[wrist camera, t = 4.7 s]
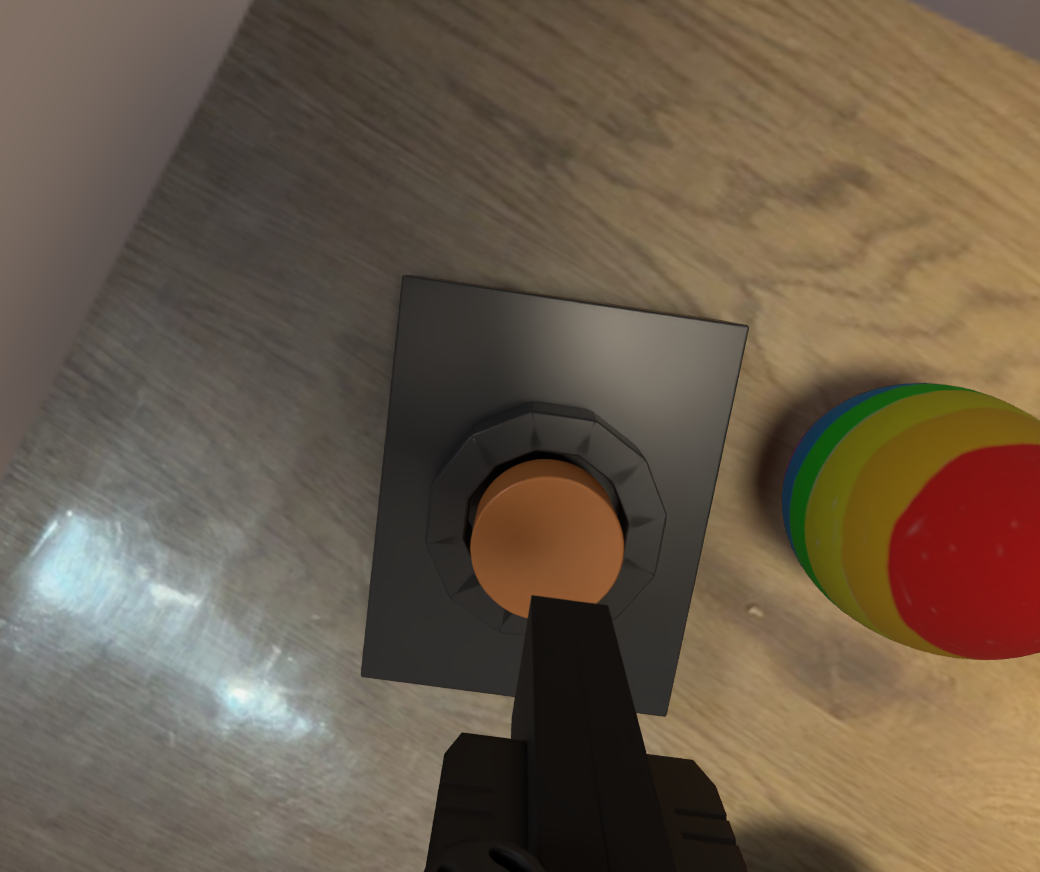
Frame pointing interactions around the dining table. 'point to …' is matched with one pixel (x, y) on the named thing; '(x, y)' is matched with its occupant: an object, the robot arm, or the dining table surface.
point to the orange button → (546, 536)
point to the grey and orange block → (542, 435)
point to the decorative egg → (923, 518)
